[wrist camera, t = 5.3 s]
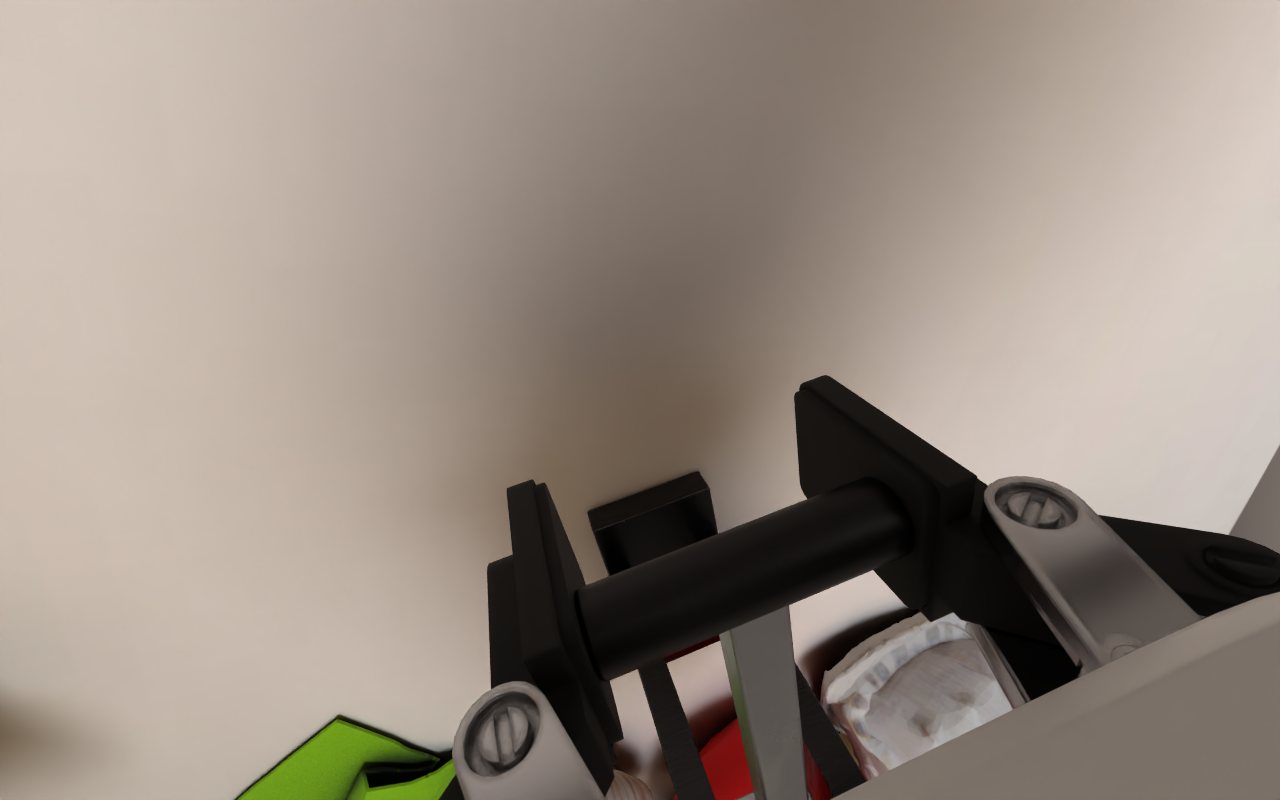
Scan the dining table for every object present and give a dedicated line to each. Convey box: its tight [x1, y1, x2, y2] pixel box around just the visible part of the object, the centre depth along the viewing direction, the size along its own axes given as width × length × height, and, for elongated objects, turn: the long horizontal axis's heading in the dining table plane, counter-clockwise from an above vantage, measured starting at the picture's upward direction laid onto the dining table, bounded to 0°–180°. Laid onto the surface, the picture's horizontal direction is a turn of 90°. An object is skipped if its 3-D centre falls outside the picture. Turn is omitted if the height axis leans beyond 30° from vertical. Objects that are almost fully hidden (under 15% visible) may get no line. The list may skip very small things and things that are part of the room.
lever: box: [574, 477, 915, 800], centre depth 12 cm, size 14×6×2 cm, turn 12°
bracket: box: [588, 472, 867, 800], centre depth 18 cm, size 10×6×13 cm, turn 12°
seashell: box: [820, 612, 1013, 780], centre depth 28 cm, size 12×14×10 cm
